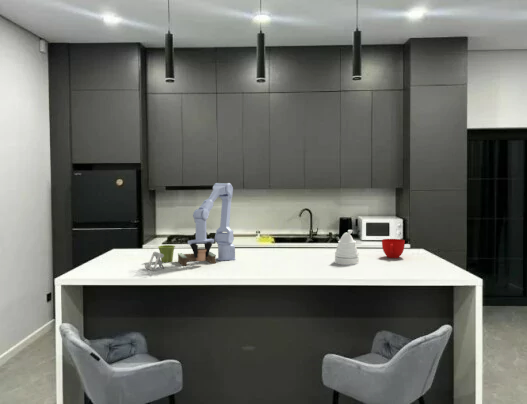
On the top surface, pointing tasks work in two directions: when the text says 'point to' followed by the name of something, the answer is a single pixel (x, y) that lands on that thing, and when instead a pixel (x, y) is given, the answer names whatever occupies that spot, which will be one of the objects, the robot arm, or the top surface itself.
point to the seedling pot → (201, 254)
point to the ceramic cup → (393, 247)
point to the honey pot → (346, 250)
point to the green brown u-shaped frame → (190, 257)
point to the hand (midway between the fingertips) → (201, 256)
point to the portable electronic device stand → (158, 256)
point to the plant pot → (167, 252)
